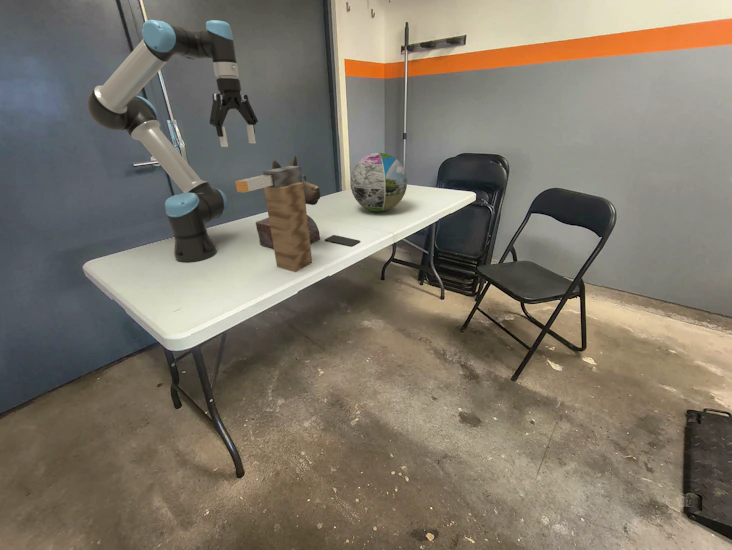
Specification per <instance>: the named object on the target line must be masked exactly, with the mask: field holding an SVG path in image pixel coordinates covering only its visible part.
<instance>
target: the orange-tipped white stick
mask: <svg viewBox="0 0 732 550" xmlns="http://www.w3.org/2000/svg"><path fill="white" fill-rule="evenodd" d="M234 182H235V187H236V192H237V193H248V192H251V191H256V190H259V189H260V190H261V189H264V188H265V187H268V186H272V185H275V184H274V177H273V174H265V175H264V174H262V175H257V176H256V175H255V176H252V177H248V178H242V179H238V180H234Z"/></svg>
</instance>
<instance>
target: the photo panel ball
mask: <svg viewBox="0 0 732 550" xmlns="http://www.w3.org/2000/svg"><path fill="white" fill-rule="evenodd" d="M407 186H408V176H407V173H406V170H405V168H404V166H403V165H402V163H401V162H400V161H399V160H398V159H397V158H396V157H394V156H393V155H390V154H388V153H384V152H383V153H382V152H376V153H371V154H368V155H365V156H364V157H363V158H362V159H360V160H359V161H358V162H357V164H355V166H354V168H353V171H352V173H351V176H350V190H351V192H352V195H353V197H354V199H355V201H357V203H358V204H359V205H360V206H361V207H362V208H364V209H366V210H368V211H372V212H377V213H378V212H385V211H388V210H389V211H390V210H391V209H393V208H394V207H396V206H397V205H398V204H399V203H400V202H401V201H402V200H403V198H404V196H405V194H406V191H407Z"/></svg>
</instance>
